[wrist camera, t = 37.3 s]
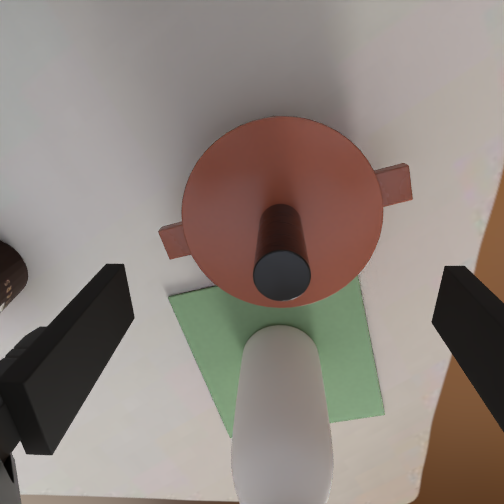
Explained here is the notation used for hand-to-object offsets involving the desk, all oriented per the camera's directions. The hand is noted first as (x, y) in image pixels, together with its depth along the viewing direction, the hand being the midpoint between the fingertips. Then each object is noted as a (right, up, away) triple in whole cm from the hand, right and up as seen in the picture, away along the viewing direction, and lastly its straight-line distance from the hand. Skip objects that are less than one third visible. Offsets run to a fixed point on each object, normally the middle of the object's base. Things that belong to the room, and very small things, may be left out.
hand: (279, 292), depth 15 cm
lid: (+1, +4, +9) cm, 10 cm away
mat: (+2, -9, +22) cm, 24 cm away
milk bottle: (+2, -9, +22) cm, 23 cm away
